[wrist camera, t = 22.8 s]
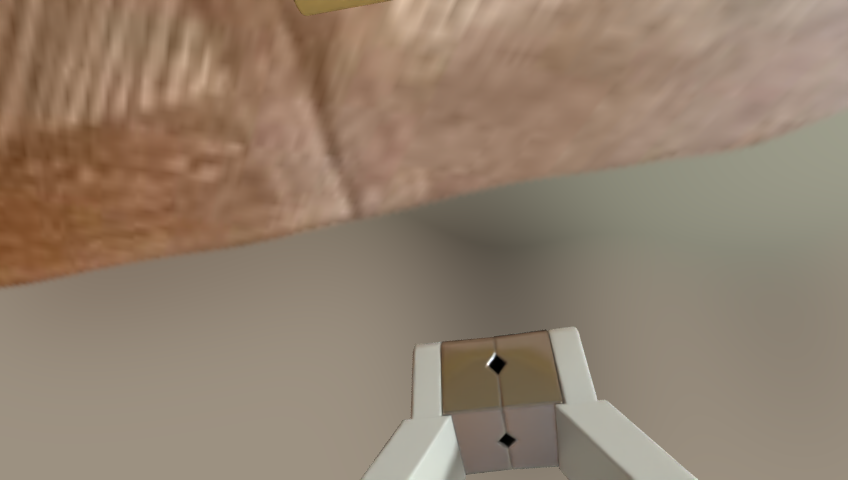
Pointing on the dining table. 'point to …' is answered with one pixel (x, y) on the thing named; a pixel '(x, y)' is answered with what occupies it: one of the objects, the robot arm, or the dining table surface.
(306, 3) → the drawer
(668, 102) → the dining table surface
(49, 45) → the dining table surface
